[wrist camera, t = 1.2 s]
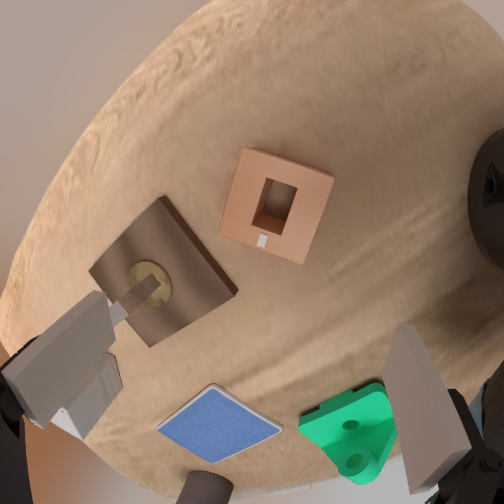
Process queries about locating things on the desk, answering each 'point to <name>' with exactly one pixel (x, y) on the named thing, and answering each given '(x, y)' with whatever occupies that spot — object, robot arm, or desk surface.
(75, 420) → the supplement box
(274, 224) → the tan square frame
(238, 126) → the desk surface
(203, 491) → the pillar candle
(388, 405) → the camera mount
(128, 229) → the base
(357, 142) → the desk surface
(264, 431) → the blue felt tray
